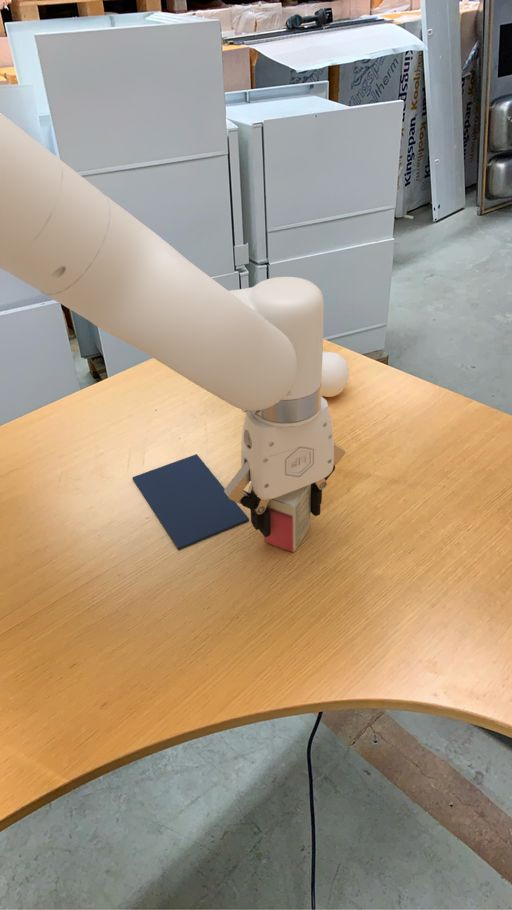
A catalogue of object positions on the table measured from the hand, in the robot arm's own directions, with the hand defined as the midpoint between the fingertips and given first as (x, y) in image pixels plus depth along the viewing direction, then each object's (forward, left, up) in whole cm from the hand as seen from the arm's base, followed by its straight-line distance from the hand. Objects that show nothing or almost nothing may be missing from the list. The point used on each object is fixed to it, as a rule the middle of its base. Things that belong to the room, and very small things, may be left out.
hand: (286, 518), depth 80 cm
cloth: (-8, +13, -3) cm, 15 cm away
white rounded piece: (+22, +28, -3) cm, 36 cm away
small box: (0, 0, -3) cm, 3 cm away
